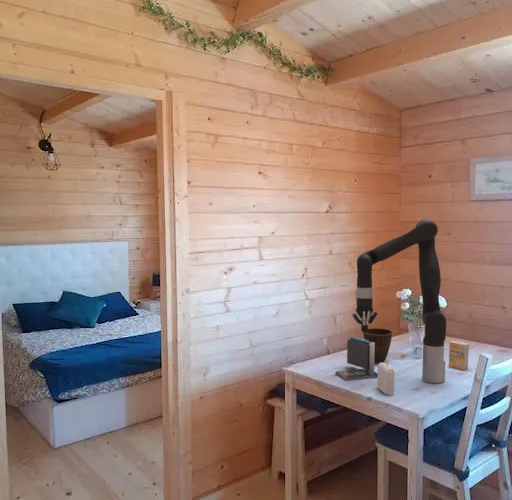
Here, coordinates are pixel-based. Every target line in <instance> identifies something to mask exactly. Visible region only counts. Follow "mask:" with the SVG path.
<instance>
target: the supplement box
mask: <svg viewBox="0 0 512 500" xmlns="http://www.w3.org/2000/svg"><path fill="white" fill-rule="evenodd" d="M448 351H449V353H448V367H449V368H452V369H457V370H462V371H465V370H468V368H469V351H470V343H467V342H463V341H458V340H451V341H450V342H449V349H448Z"/></svg>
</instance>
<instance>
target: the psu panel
mask: <svg viewBox="0 0 512 500" xmlns="http://www.w3.org/2000/svg"><path fill="white" fill-rule="evenodd" d="M335 374H336V375H337V376H338V377H339V378H341V379H342V380H344V381H345V382H347V381H357V380H367V379H368V380H369V379H378V372H376V371H375V370H374V371H369V369H365V368H356V369H345V370H336V371H335Z"/></svg>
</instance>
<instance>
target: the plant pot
mask: <svg viewBox="0 0 512 500" xmlns="http://www.w3.org/2000/svg"><path fill="white" fill-rule="evenodd" d="M362 333H363V332H362ZM392 337H393V331H392V330H389V329H386V328H379V327H378V328H377V327H375V328H368V331H367V333H363V339H364V340H368V341H370V342H374V343H375V353H374V364H379V363H386V359H387V357H388V354H389V351H390V347H391V342H392V339H393V338H392Z"/></svg>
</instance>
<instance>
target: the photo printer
mask: <svg viewBox="0 0 512 500" xmlns="http://www.w3.org/2000/svg"><path fill="white" fill-rule="evenodd" d="M377 373H378V378H376V379H377V385H376V386H377V389H379V391H381V392H383V394H384V395H387V396H393V395H394V393H395V370H394V367H392V366H391V365H390V364H389V363H387V362H384V363H378V364H377Z"/></svg>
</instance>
